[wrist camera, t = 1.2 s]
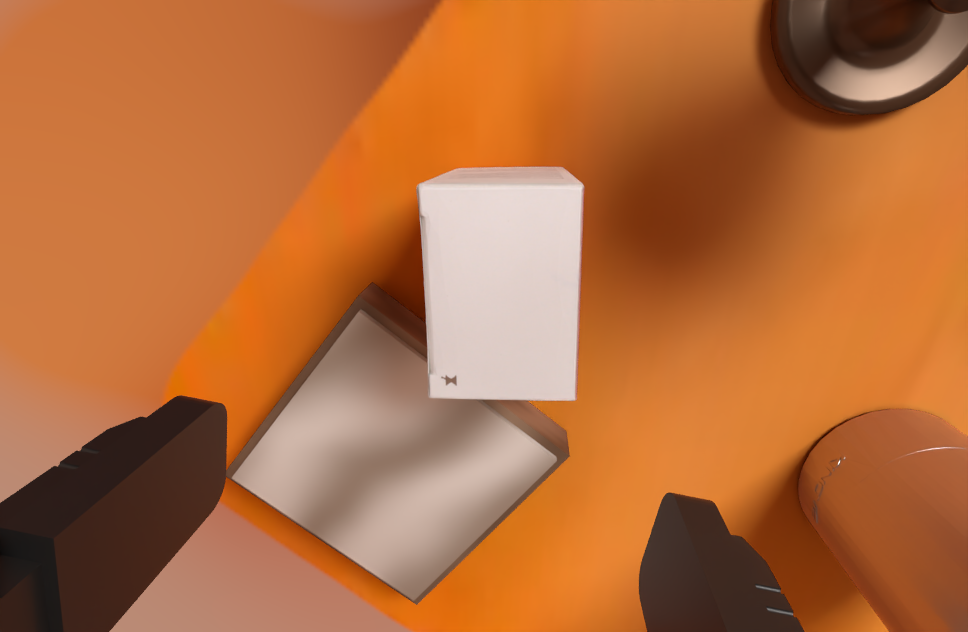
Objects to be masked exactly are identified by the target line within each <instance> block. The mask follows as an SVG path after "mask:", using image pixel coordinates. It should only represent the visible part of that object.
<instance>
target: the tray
mask: <svg viewBox="0 0 968 632" xmlns="http://www.w3.org/2000/svg"><path fill="white" fill-rule="evenodd" d="M569 456H570V455H569V447H568V440H567V432H566V431H565V430H564V429H563V428H562V427H560V426H559V425H558V424H556V423H555V422H554V421H552V420H551V419H550V418H549V417H547V416H546V415H545V414H543V413H542V412H541V411H539V410H538V409H537V408H536V407H534V406H533V405H532V404H530V403H529V402H528V401H526V400H484V399H441V398H429V397H428V356H427V332H426V323H425V322H423V321H422V320H421V319H420V318H418V317H417V316H416V315H414V314H413V313H412V312H410V311H409V310H408V309H407V308H405V307H404V306H403V305H401V304H400V303H399V302H397V301H396V300H395V299H394V298H392V297H391V296H390V295H388V294H387V293H386V292H384V291H383V290H382V289H380V288H379V287H378V286H377V285H375V284H374V283H373V282H372V283H371V284H370V285H369V286H368V287H367V288H366V289H365V290H364V291H363V292H362V293H361V294H360V295H359V296H358V297H357V298H356V300H355V301H354V302H353V304H352V305H351V306H350V308H349V309H348V310H347V312H346V313H345V314H344V316H343V317H342V318H341V319H340V321H339V322H338V323H337V325H336V326H335V327H334V329H333V330H332V331H331V333H330V334H329V335H328V337H327V338H326V339H325V341H324V342H323V343H322V345H321V346H320V347H319V349H318V350H317V351H316V353H315V354H314V355H313V357H312V358H311V359H310V361H309V362H308V363H307V364H306V366H305V367H304V368H303V370H302V371H301V372H300V374H299V375H298V376H297V378H296V379H295V380H294V382H293V383H292V384H291V386H290V387H289V388H288V390H287V391H286V392H285V394H284V395H283V396H282V398H281V399H280V400H279V402H278V403H277V404H276V406H275V407H274V408H273V409H272V411H271V412H270V413H269V415H268V416H267V417H266V419H265V420H264V421H263V423H262V424H261V425H260V427H259V428H258V429H257V431H256V432H255V433H254V435H253V436H252V437H251V439H250V440H249V441H248V443H247V444H246V445H245V447H244V448H243V449H242V451H241V452H240V453H239V454H238V456H237V457H236V458H235V460H234V461H233V462H232V464H231V465H230V466H229V468H228V469H227V470H226V477H228V478H229V479H231V480H232V481H234V482H235V483H236V484H238V485H239V486H241V487H242V488H244V489H245V490H247V491H248V492H250V493H251V494H253V495H254V496H256V497H257V498H259V499H260V500H262V501H263V502H265V503H266V504H268V505H269V506H271V507H272V508H274V509H275V510H277V511H278V512H280V513H281V514H283V515H284V516H286V517H287V518H289V519H290V520H291V521H293V522H294V523H296V524H297V525H299V526H300V527H302V528H303V529H305V530H306V531H308V532H309V533H311V534H312V535H314V536H315V537H317V538H318V539H320V540H321V541H323V542H324V543H326V544H327V545H329V546H330V547H332V548H333V549H335V550H336V551H338V552H339V553H341V554H342V555H344V556H345V557H346V558H348V559H349V560H351V561H352V562H354V563H355V564H357V565H358V566H360V567H361V568H363V569H364V570H366V571H367V572H369V573H370V574H372V575H373V576H375V577H376V578H378V579H379V580H381V581H382V582H384V583H385V584H387V585H388V586H390V587H391V588H393V589H394V590H396V591H397V592H398V593H400V594H401V595H403V596H404V597H406V598H407V599H409V600H410V601H412V602H413V603H415V604H416V605H417V604H418V603H419V602H420V601H421V600H422V599H423V598H424V597H425V596H426V595H427V594H428V593H429V592H430V591H431V590H432V589H434V588H435V587H436V586H437V585H438V584H439V583H440V582H441V581H442V580H443V579H444V578H445V577H446V576H447V575H448V574H449V573H450V572H451V571H452V570H453V569H454V568H455V567H456V566H457V565H458V564H459V563H460V562H461V561H462V560H463V559H464V558H465V557H466V556H467V555H468V554H469V553H471V552H472V551H473V550H474V549H475V548H476V547H477V546H478V545H479V544H480V543H481V542H482V541H483V540H484V539H485V538H486V537H487V536H488V535H489V534H490V533H491V532H492V531H493V530H494V529H495V528H496V527H497V526H498V525H499V524H500V523H501V522H502V521H503V520H504V519H505V518H507V517H508V516H509V515H510V514H511V513H512V512H513V511H514V510H515V509H516V508H517V507H518V506H519V505H520V504H521V503H522V502H523V501H524V500H525V499H526V498H527V497H528V496H529V495H530V494H531V493H532V492H533V491H534V490H535V489H536V488H537V487H538V486H539V485H540V484H541V483H542V482H544V481H545V480H546V479H547V478H548V477H549V476H550V475H551V474H552V473H553V472H554V471H555V470H556V469H557V468H558V467H559V466H560V465H561V464H562V463H563V462H564V461H565V460H566V459H567V458H568V457H569Z"/></svg>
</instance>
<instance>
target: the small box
mask: <svg viewBox="0 0 968 632" xmlns="http://www.w3.org/2000/svg"><path fill="white" fill-rule="evenodd" d="M417 198H418V208H419V216H420V227H421V240H422V256H423V276H424V292H425V310H426V332H427V356H428V397H429V398H441V399H484V400H535V401H574V400H576V399H577V381H578V351H579V324H580V295H581V266H582V236H583V207H584V185H583V183H581V182H580V181H579V180H578V179H576V178H575V177H574V176H573V175H572V174H571V173H569V172H568V171H567V170H566V169H564V168H563V167H483V168H457V169H455V170H452V171H450V172H447V173H444V174H442V175H440V176H437V177H435V178H432V179H430V180H428V181H425V182H423V183H420V184H419V185H418V186H417Z"/></svg>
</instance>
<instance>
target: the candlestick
mask: <svg viewBox="0 0 968 632" xmlns="http://www.w3.org/2000/svg"><path fill="white" fill-rule="evenodd" d="M770 30H771V40H772V48H773V51H774V54H775V57H776V61H777V64H778V67H779V68H780V70H781V72H782V74H783V75H784V77H785V79H786V81H787V82H788V83H789V84H790V86H791V87H792V88H793V89H794V90H795V91H796V92H797V93H798V94H799V95H800V96H801V97H803V98H804V99H806V100H807V101H809V102H810V103H812V104H813V105H815V106H817V107H819V108H822V109H825V110H827V111H830V112H833V113H840V114H847V115H864V114H879V113H887V112H891V111H894V110H898V109H902V108H906V107H908V106H910V105H912V104H915V103H917V102H919V101H921V100H924V99H926V98H927V97H929V96H930V95H932V94H933V93H935V92H937V91H938V90H940V89H941V88H943V87H944V86H946V85H947V84H948V83H949V82H950V81H951V80H952V79H953V78H955V77H956V76H957V75H958V74H959V73H960V72H961V71H962V70H963V69H965V67H966V66H967V65H968V0H773V2H772V10H771V22H770Z"/></svg>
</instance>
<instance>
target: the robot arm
mask: <svg viewBox="0 0 968 632" xmlns="http://www.w3.org/2000/svg"><path fill="white" fill-rule="evenodd" d="M226 449H227V411H226V408H225V406H224V405H223V404H222V403H217V402H212V401H207V400H202V399H197V398H192V397H187V396H177V397H175V398H173V399H172V400H170V401H169V402H167V403H166V404H165V405H163V406H162V407H161V408H159V409H158V410H156V411H155V412H154V413H152V414H151V415H150V416H148V417H147V418H145V417H138V418H136V419H133V420H131V421H128V422H126V423H123V424H120V425H118V426H115V427H113V428H110V429H107V430H106V431H105V432H103V433H102V434H100V435H99V436H97V437H96V438H94V439H93V440H92V441H90V442H88V443H87V444H86V445H84V446H83V447H82V449H81V451H75V452H74V453H72V454H71V455H70V456H68V457H67V458H65V459H64V460H62V461H61V462H60V465H59V466H58V467H57V466H54V467H52V468H51V469H49V470H48V471H46V472H45V473H43V474H42V475H40V476H39V477H37V478H36V479H35V480H33V481H32V482H30V483H29V484H27V485H26V486H24V487H23V488H21V489H20V490H19V491H17V492H16V493H14V494H13V495H11V496H10V497H8V498H7V499H5V500H4V501H2V502H1V503H0V632H109V631H110V630H111V629H112V628H113V627H114V625H115V624H116V623H117V622H118V621H119V620H120V618H121V617H122V616H123V615H124V614H125V612H126V611H127V610H128V609H129V608H130V607H131V606H132V604H133V603H134V602H135V601H136V600H137V599H138V597H139V596H140V595H141V594H142V593H143V592H144V590H145V589H146V588H147V587H148V586H149V585H150V583H151V582H152V581H153V580H154V579H155V578H156V577H157V575H158V574H159V573H160V572H161V571H162V569H163V568H164V567H165V566H166V565H167V564H168V562H169V561H170V560H171V559H172V558H173V557H174V556H175V554H176V553H177V552H178V551H179V550H180V549H181V547H182V546H183V545H184V544H185V543H186V542H187V540H188V539H189V538H190V537H191V536H192V535H193V533H194V532H195V531H196V530H197V529H198V528H199V526H200V525H201V524H202V523H203V522H204V521H205V519H206V518H207V517H208V516H209V514H211V512H212V511H213V510H214V508H215V507H216V505H217V503H218V501H219V499H220V497H221V494H222V492H223V489H224V485H225V480H226ZM798 496H799V500H800V503H801V507H802V510H803V511H804V513H805V515H806V517H807V518H808V520H809V521H810V523H811V524H812V526H813V527H814V528H815V530H816V531H817V533H818V534H819V535H820V537H821V538H822V539H823V541H824V542H825V544H826V545H827V546H828V548H829V549H830V550H831V552H832V553H833V555H834V556H835V557H836V559H837V560H838V561H839V563H840V564H841V566H842V567H843V569H844V570H845V572H846V573H847V574H848V576H849V577H850V578H851V580H852V581H853V583H854V584H855V585H856V587H857V588H858V589H859V591H860V592H861V594H862V595H863V596H864V598H865V599H866V600H867V602H868V603H869V605H870V606H871V607H872V609H873V610H874V611H875V613H876V614H877V615H878V617H879V618H880V620H881V621H882V622H883V624H884V625H885V626H886V628H887V629H888V631H889V632H968V436H966V435H965V434H963V433H962V432H960V431H959V430H957V429H956V428H954V427H953V426H952V425H950V424H949V423H947V422H946V421H944V420H943V419H941V418H939V417H936V416H934V415H932V414H929V413H927V412H922V411H917V410H911V409H886V410H881V411H875V412H870V413H867V414H864V415H861V416H859V417H856V418H853V419H851V420H849V421H847V422H845V423H844V424H842V425H840V426H838V427H836V428H835V429H834V430H832V431H831V432H830V433H829V434H827V435H826V436H825V437H824V438H823V439H821V440H820V442H819V443H818V444H817V445H816V446H815V448H814V449H813V450H812V451H811V452H810V454H809V456H808V458H807V459H806V461H805V463H804V465H803V467H802V470H801V474H800V478H799V485H798ZM780 590H781V588H780V586H779V584H778V583H777V581H776V579H775V577H774V575H773V573H772V572H771V570H770V568H769V566H768V564H767V562H766V561H765V560H764V559H763V558H762V557H761V556H760V555H759V554H758V553H757V552H756V551H755V550H754V549H753V548H752V547H751V546H750V545H749V544H748V543H747V542H746V541H745V540H744V539H743V538H742V537H740V536H735V535H730V533H729V531H728V529H727V527H726V525H725V523H724V521H723V519H722V517H721V515H720V512H719V510H718V508H717V507H716V505H715V503H714V502H712V501H710V500H705V499H700V498H695V497H690V496H685V495H680V494H675V493H667V494H666V495H665V496H664V497H663V499H662V502H661V504H660V507H659V510H658V513H657V516H656V519H655V522H654V525H653V528H652V532H651V535H650V538H649V541H648V544H647V547H646V550H645V553H644V556H643V559H642V562H641V567H640V574H639V595H640V601H641V606H642V610H643V615H644V619H645V623H646V628H647V632H804V630H803V628H802V626H801V625H800V623H799V621H798V619H797V618H796V617H793V610H792V608H791V606H790V604H789V603H788V601H787V599H786V597H785V595H784V594H781V592H780Z"/></svg>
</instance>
